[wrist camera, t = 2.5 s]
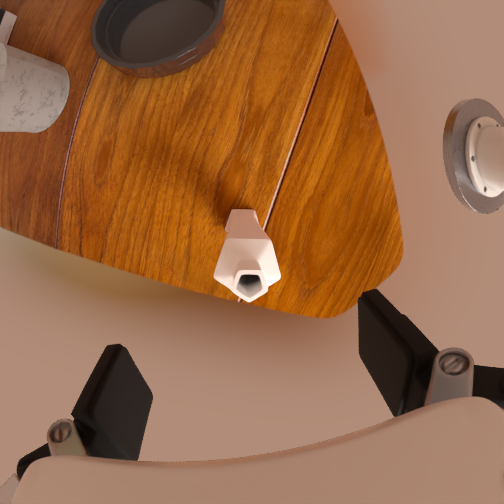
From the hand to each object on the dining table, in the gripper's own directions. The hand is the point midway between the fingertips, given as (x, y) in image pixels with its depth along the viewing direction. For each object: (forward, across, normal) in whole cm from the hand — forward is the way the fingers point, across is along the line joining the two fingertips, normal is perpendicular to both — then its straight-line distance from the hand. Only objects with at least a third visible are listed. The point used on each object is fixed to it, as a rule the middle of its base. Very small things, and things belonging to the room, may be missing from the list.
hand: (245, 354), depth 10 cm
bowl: (+22, +3, -25) cm, 33 cm away
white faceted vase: (+22, -1, 0) cm, 22 cm away
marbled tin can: (+22, +20, -23) cm, 38 cm away
